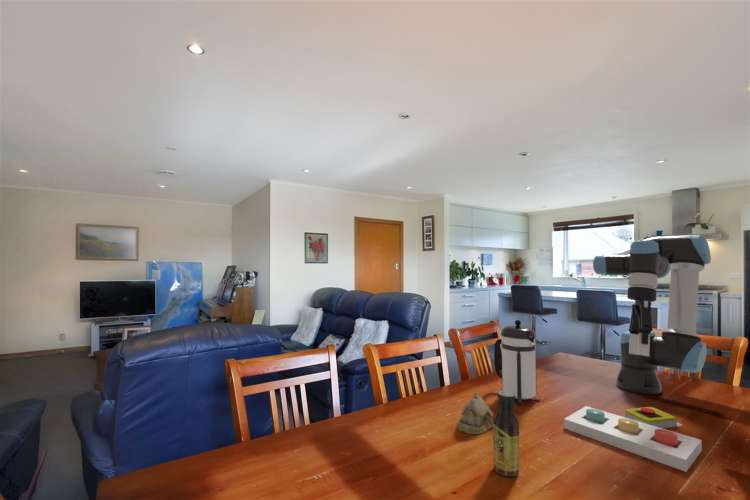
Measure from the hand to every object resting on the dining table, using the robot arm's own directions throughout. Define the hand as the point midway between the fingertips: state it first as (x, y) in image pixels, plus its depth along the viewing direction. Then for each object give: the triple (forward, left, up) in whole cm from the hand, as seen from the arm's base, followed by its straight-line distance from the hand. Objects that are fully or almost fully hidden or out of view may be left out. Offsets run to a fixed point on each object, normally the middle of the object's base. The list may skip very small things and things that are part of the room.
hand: (638, 354), depth 114 cm
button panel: (+9, 0, -23) cm, 25 cm away
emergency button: (-10, 0, -24) cm, 26 cm away
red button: (+9, +9, -22) cm, 25 cm away
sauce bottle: (+52, -13, -23) cm, 59 cm away
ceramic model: (+37, -34, -24) cm, 56 cm away
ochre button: (+9, 0, -22) cm, 24 cm away
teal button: (+9, -9, -22) cm, 25 cm away
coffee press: (+5, -39, -23) cm, 46 cm away
